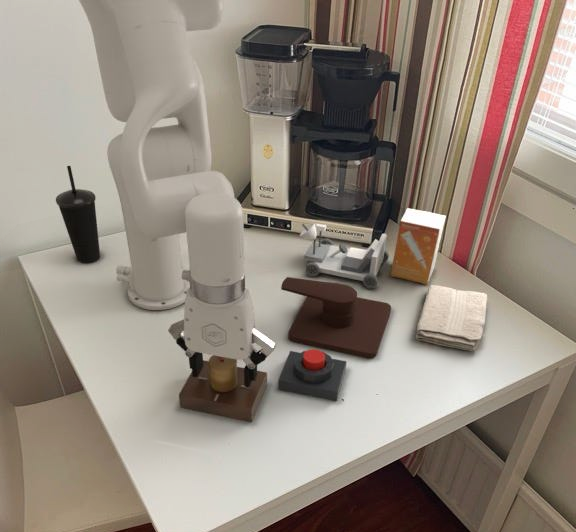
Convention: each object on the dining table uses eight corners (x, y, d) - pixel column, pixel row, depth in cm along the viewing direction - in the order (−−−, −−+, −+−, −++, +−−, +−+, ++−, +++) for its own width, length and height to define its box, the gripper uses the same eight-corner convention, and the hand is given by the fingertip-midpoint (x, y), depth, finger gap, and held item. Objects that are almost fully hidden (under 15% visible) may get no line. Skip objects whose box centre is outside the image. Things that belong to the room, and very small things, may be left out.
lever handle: (295, 258, 119) (397, 277, 115) (294, 290, 124) (391, 309, 120) (268, 304, 108) (380, 327, 103) (268, 337, 112) (374, 360, 108)
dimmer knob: (240, 389, 97) (239, 366, 94) (212, 394, 96) (211, 370, 93) (234, 372, 100) (233, 348, 97) (208, 376, 99) (206, 353, 96)
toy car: (294, 230, 122) (311, 206, 131) (292, 272, 129) (309, 247, 137) (382, 247, 118) (394, 221, 127) (376, 290, 125) (387, 262, 133)
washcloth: (413, 342, 113) (416, 329, 110) (426, 291, 125) (428, 278, 123) (479, 355, 110) (483, 342, 108) (485, 302, 123) (488, 289, 121)
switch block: (278, 389, 102) (278, 371, 99) (289, 360, 108) (290, 342, 105) (336, 401, 100) (338, 383, 98) (345, 370, 106) (347, 352, 103)
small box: (390, 277, 129) (399, 220, 120) (397, 262, 133) (406, 206, 124) (427, 285, 127) (440, 228, 118) (434, 270, 131) (446, 214, 122)
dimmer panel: (180, 408, 98) (178, 393, 96) (199, 372, 105) (198, 358, 103) (251, 422, 96) (251, 408, 94) (267, 385, 103) (267, 371, 101)
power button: (300, 368, 101) (301, 360, 99) (305, 355, 103) (306, 347, 102) (321, 372, 100) (322, 364, 99) (326, 359, 103) (327, 351, 101)
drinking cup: (78, 246, 134) (58, 157, 121) (111, 250, 134) (95, 160, 120) (64, 265, 129) (41, 172, 115) (99, 268, 128) (80, 176, 115)
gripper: (149, 287, 84) (163, 381, 96) (270, 308, 82) (269, 403, 93) (170, 260, 90) (181, 352, 102) (284, 279, 87) (282, 372, 99)
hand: (223, 376), depth 97 cm, fingers open, 8 cm apart
